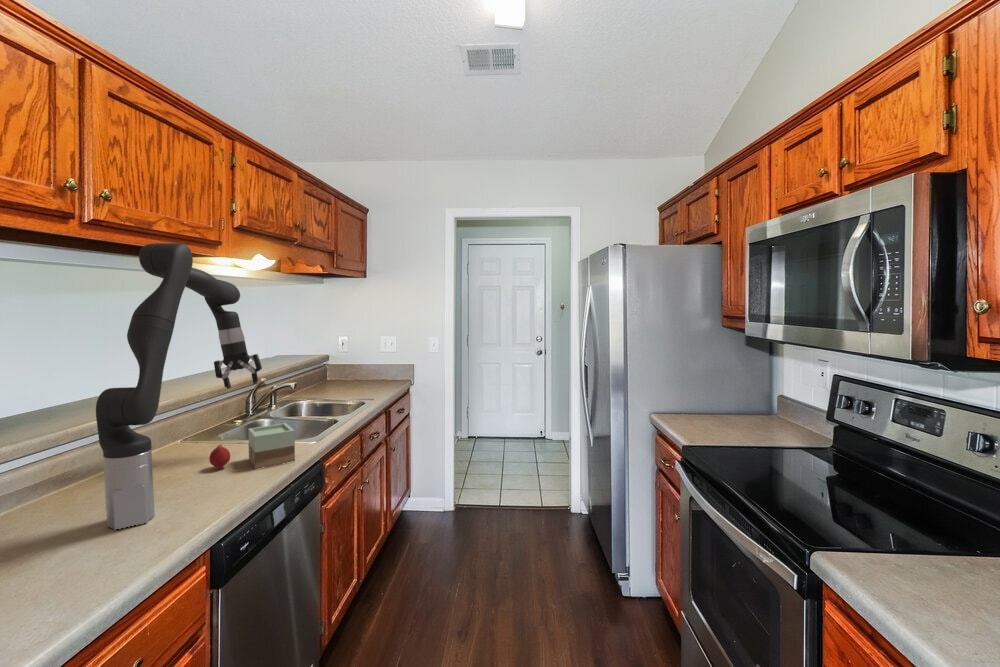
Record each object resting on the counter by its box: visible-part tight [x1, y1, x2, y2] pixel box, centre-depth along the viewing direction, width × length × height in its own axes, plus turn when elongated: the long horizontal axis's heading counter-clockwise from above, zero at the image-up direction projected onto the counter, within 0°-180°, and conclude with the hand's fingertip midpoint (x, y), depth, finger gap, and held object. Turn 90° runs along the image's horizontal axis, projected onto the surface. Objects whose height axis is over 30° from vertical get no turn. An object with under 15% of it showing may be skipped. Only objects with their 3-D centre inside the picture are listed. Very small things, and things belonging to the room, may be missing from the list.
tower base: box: [247, 442, 296, 470], centre depth 155 cm, size 12×12×6 cm
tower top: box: [248, 422, 296, 452], centre depth 155 cm, size 12×12×5 cm
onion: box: [208, 443, 231, 469], centre depth 147 cm, size 6×6×8 cm
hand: (242, 385), depth 161 cm, fingers open, 8 cm apart
